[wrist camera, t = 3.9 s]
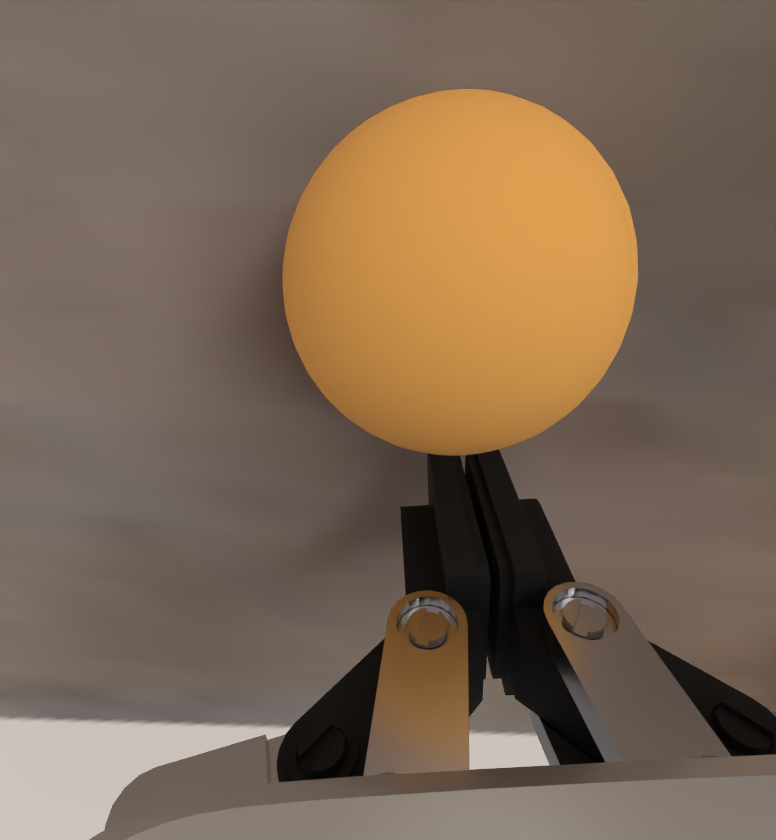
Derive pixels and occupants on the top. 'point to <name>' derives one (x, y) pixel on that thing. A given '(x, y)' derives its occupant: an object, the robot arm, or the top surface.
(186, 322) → the top surface
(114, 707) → the top surface
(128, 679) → the top surface
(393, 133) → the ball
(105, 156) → the top surface
